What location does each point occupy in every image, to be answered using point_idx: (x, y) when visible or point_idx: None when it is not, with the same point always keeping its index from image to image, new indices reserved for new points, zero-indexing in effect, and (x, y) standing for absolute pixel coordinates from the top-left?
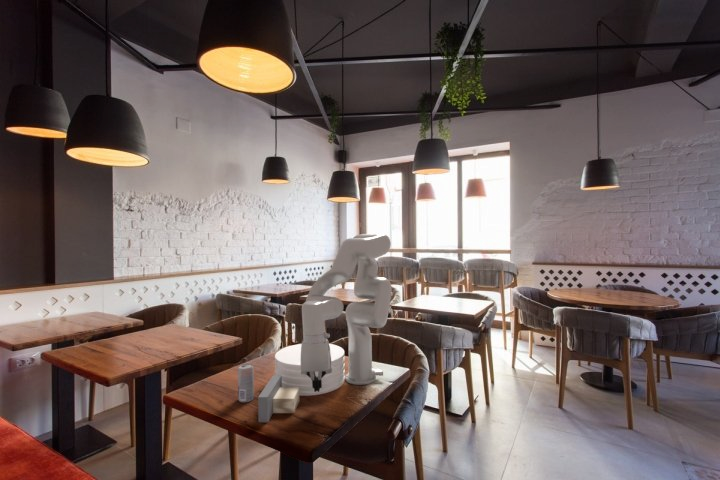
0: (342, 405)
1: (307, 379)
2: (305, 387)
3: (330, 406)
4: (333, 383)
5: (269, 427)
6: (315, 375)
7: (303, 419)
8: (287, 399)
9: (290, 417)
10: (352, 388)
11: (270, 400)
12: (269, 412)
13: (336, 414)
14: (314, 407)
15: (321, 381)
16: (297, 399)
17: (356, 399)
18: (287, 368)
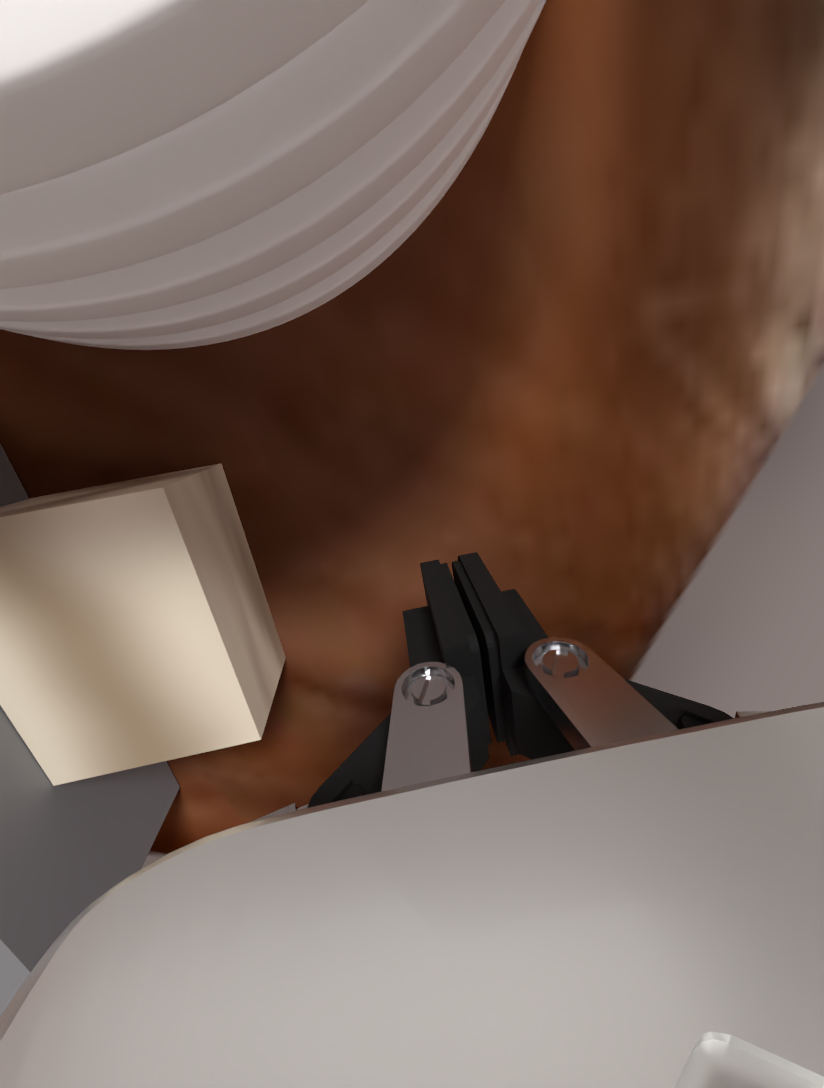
0: (612, 478)
1: (170, 291)
2: (190, 325)
3: (522, 513)
4: (512, 67)
5: (226, 819)
6: (472, 713)
7: (387, 708)
8: (202, 747)
9: (291, 709)
10: (697, 37)
11: (77, 860)
12: (141, 799)
13: (582, 610)
14: (403, 553)
15: (535, 625)
16: (234, 561)
17: (723, 345)
18: None
